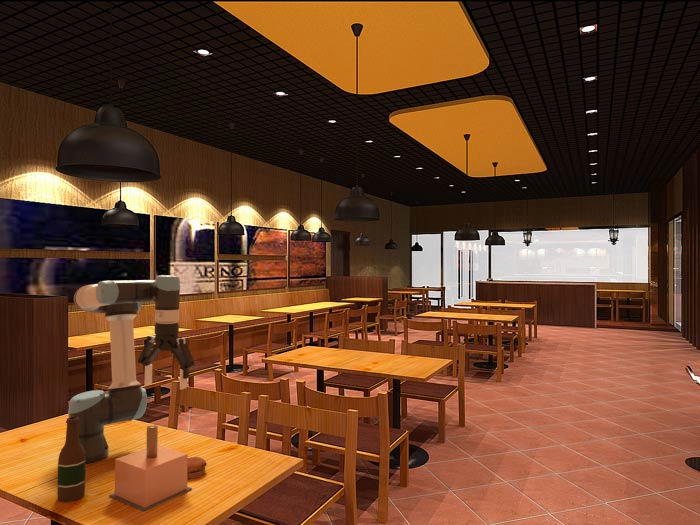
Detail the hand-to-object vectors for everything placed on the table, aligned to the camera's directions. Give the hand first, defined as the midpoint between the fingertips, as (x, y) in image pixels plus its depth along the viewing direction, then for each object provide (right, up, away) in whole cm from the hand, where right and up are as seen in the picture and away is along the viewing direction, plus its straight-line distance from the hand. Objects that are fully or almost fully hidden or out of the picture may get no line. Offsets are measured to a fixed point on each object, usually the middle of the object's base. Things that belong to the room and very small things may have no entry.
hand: (165, 386), depth 161 cm
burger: (+6, -32, +6) cm, 33 cm away
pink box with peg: (-1, -30, -9) cm, 32 cm away
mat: (-1, -31, -9) cm, 32 cm away
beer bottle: (-24, -31, -12) cm, 41 cm away
